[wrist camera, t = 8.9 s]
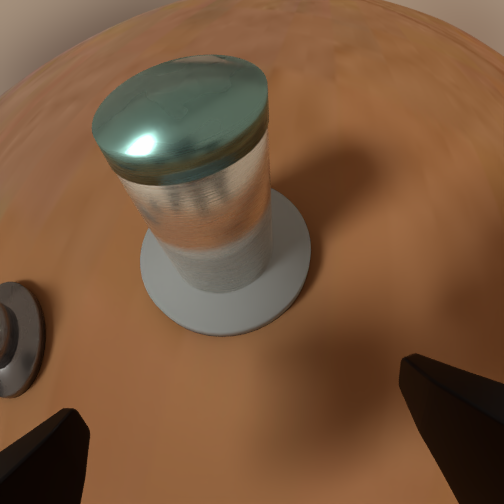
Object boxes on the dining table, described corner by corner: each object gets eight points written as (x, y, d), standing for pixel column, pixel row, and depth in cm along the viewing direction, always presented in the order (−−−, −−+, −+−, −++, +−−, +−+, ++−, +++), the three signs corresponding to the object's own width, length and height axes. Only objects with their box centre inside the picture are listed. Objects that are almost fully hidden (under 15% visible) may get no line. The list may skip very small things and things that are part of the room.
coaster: (315, 334, 14) (318, 329, 13) (137, 334, 15) (129, 329, 14) (301, 187, 18) (302, 176, 18) (160, 195, 19) (155, 185, 18)
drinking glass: (241, 313, 14) (196, 177, 6) (153, 267, 15) (62, 136, 7) (290, 224, 16) (296, 66, 8) (206, 192, 17) (166, 52, 10)
